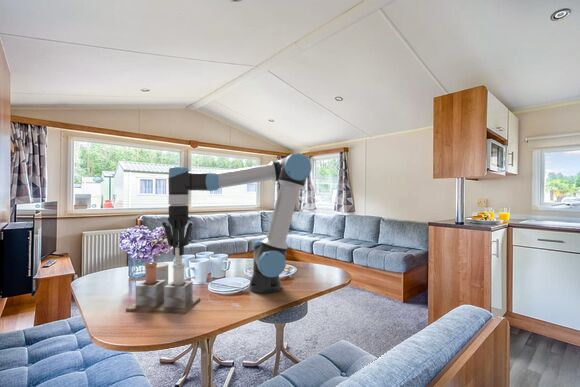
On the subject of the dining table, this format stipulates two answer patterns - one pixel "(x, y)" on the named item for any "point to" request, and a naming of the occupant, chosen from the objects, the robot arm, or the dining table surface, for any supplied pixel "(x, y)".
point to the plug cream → (178, 274)
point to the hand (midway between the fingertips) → (178, 263)
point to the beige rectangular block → (162, 272)
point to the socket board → (164, 298)
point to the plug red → (150, 273)
